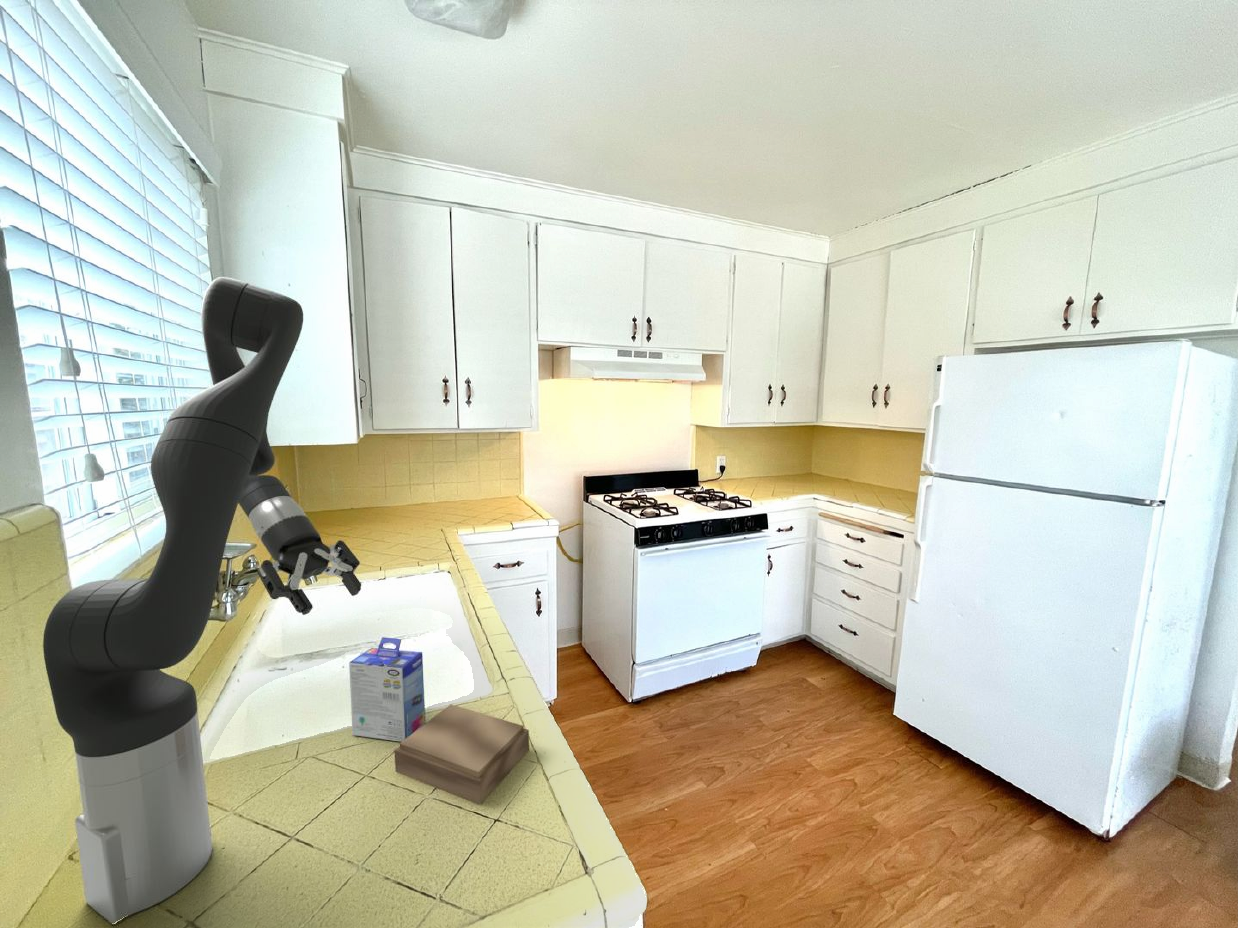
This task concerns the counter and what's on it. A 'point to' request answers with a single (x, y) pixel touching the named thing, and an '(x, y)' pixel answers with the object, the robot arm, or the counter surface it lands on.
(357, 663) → the ink cartridge box
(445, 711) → the walnut stand
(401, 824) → the counter surface
